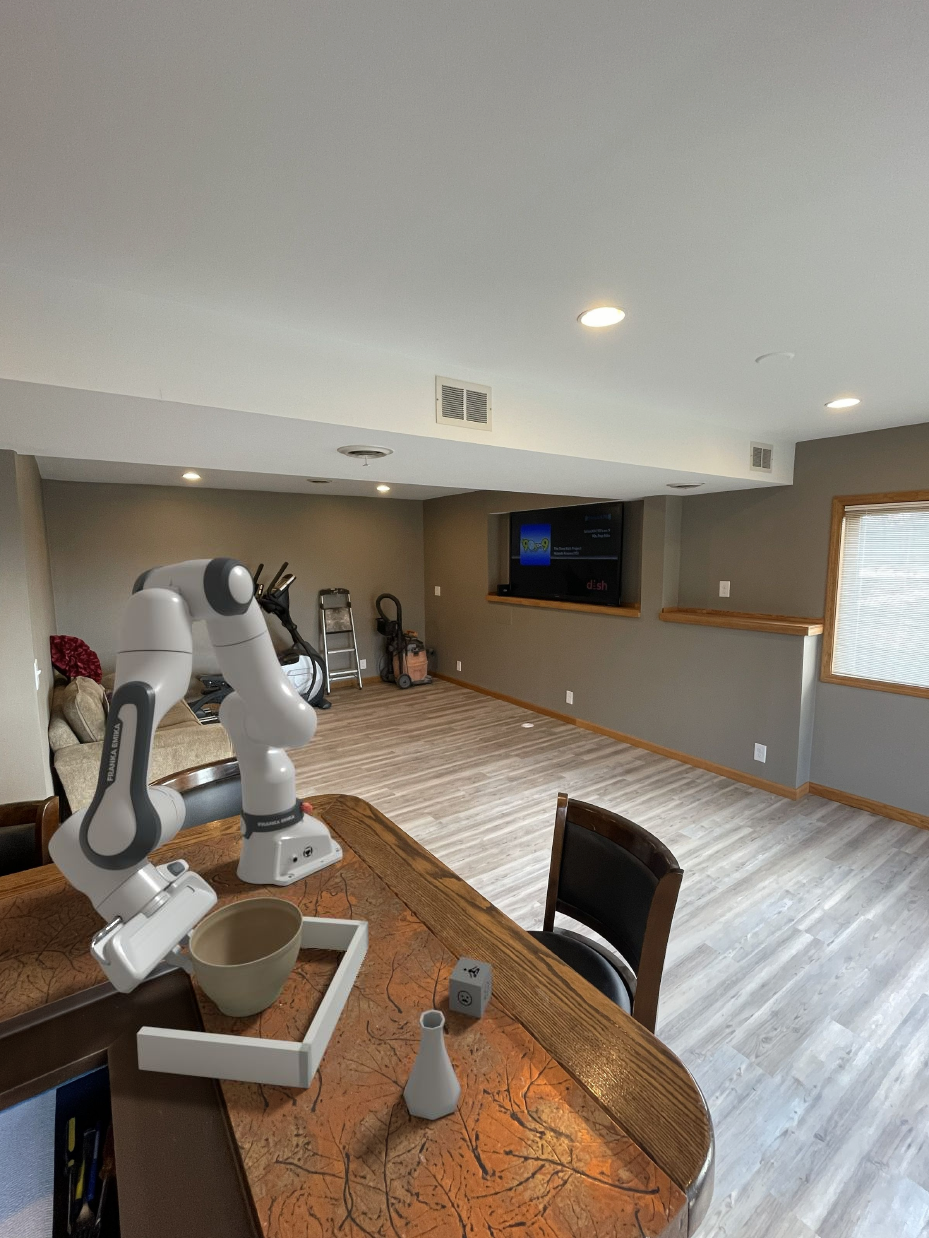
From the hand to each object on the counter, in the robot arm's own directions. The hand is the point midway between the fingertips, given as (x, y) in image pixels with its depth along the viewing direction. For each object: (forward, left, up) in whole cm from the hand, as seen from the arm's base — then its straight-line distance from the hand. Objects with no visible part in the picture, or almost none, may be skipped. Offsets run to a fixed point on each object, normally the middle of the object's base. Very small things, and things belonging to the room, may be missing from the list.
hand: (198, 964), depth 86 cm
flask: (-19, +36, -5) cm, 41 cm away
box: (-8, +8, -5) cm, 12 cm away
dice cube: (-32, +27, -5) cm, 42 cm away
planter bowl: (-6, +5, -5) cm, 9 cm away
